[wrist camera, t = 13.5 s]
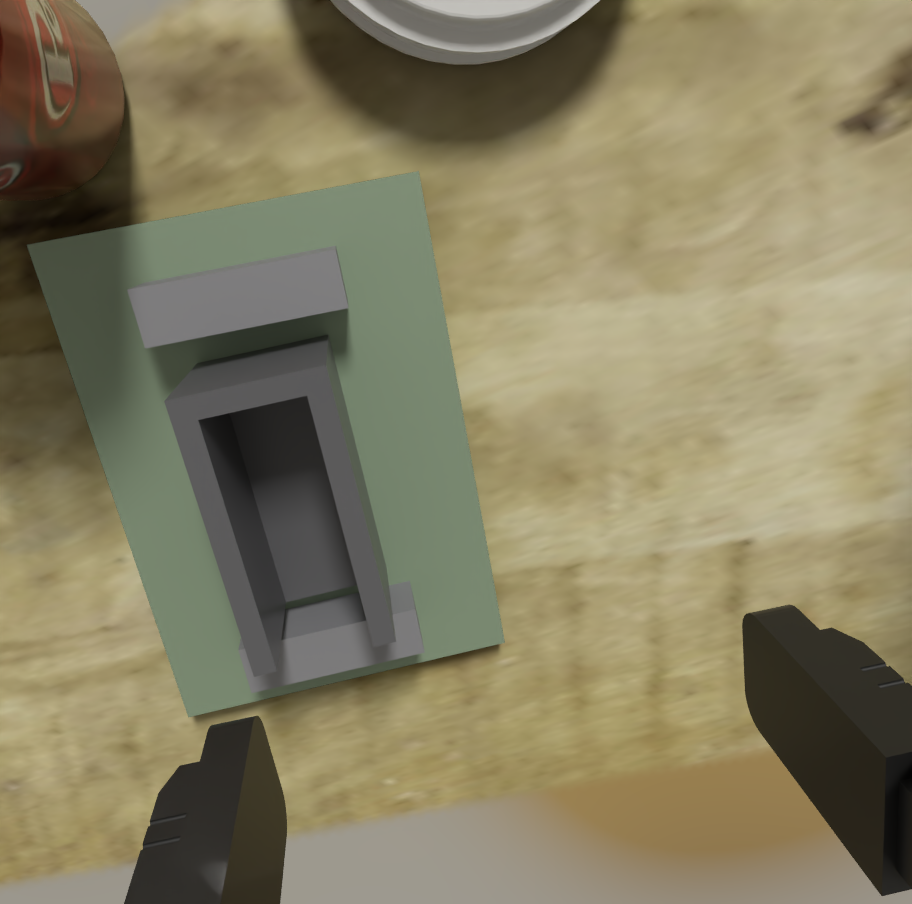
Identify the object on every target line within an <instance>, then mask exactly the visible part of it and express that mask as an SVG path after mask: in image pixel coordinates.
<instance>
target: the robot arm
mask: <svg viewBox="0 0 912 904" xmlns="http://www.w3.org/2000/svg"><path fill="white" fill-rule="evenodd" d="M742 629H743V653H744V677H745V694H746V700H747V704H748V708H749V711H750V714H751V716H752V719H753V721H754V723H755V725H756V727H757V728H758V730H759V731H760V733H761V734H762V736H763V737H764V738H765V740H766V741H767V742H768V744H769V745H770V746H771V748H772V749H773V750H774V752H775V753H776V754H777V756H778V757H779V759H780V760H781V761H782V763H783V764H784V765H785V767H786V768H787V769H788V771H789V772H790V773H791V775H792V776H793V777H794V779H795V780H796V781H797V783H798V784H799V785H800V786H801V788H802V789H803V791H804V792H805V793H806V795H807V796H808V797H809V799H810V800H811V801H812V803H813V804H814V805H815V807H816V808H817V810H818V811H819V812H820V814H821V815H822V816H823V818H824V819H825V820H826V822H827V823H828V824H829V826H830V827H831V828H832V830H833V831H834V832H835V834H836V835H837V837H838V838H839V839H840V840H841V842H842V843H843V844H844V846H845V847H846V849H847V850H848V851H849V853H850V854H851V855H852V857H853V858H854V859H855V861H856V862H857V863H858V865H859V866H860V867H861V869H862V870H863V872H864V873H865V874H866V875H867V877H868V878H869V880H870V881H871V882H872V884H873V885H874V886H875V888H876V889H877V890H878V892H879V893H880V894H881V896H885V895H889V894H893V893H897V892H901V891H905V890H909V889H912V686H911V685H910V684H909V683H906V684H905V682H904V679H903V678H902V677H901V676H900V675H899V674H898V673H897V672H896V671H894V670H893V669H892V668H891V667H890V666H889V667H887V666H886V664H885V662H884V661H883V660H882V659H881V658H880V657H879V656H878V655H877V654H876V653H874V652H873V651H872V650H871V649H870V648H869V647H868V646H867V645H865V644H864V643H863V642H861V641H859V640H857V639H855V638H853V637H851V636H848V635H846V634H844V633H842V632H840V631H838V630H836V629H834V628H828V629H823V630H819V629H818V628H817V627H816V626H815V625H814V624H813V623H812V622H811V621H810V620H809V619H808V618H807V617H806V616H805V615H804V614H803V613H802V612H801V611H799V610H798V609H797V608H796V607H795V606H793V605H785V606H781V607H776V608H771V609H767V610H762V611H757V612H752V613H748V614H746V615H745V616H744V618H743V624H742ZM286 837H287V816H286V807H285V800H284V795H283V791H282V787H281V784H280V780H279V777H278V774H277V770H276V767H275V763H274V760H273V756H272V753H271V750H270V746H269V743H268V739H267V736H266V732H265V729H264V726H263V723H262V721H261V719H260V718H259V716H254V717H249V718H244V719H240V720H235V721H230V722H225V723H221V724H216V725H211V726H210V728H209V729H208V732H207V736H206V740H205V744H204V748H203V752H202V756H201V759H200V762H195V763H191V764H186V765H181V766H179V767H178V769H177V770H176V771H175V773H174V774H173V775H172V776H171V778H170V779H169V780H168V782H167V783H166V784H165V785H164V787H163V788H162V789H161V791H160V792H159V794H158V797H157V800H156V803H155V806H154V809H153V813H152V816H151V819H150V826H148V829H147V832H146V835H145V838H144V841H143V850H141V851H140V854H139V857H138V861H137V864H136V867H135V870H134V874H133V877H132V880H131V883H130V886H129V890H128V893H127V896H126V899H125V902H124V904H280V898H281V888H282V878H283V867H284V857H285V847H286Z"/></svg>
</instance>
